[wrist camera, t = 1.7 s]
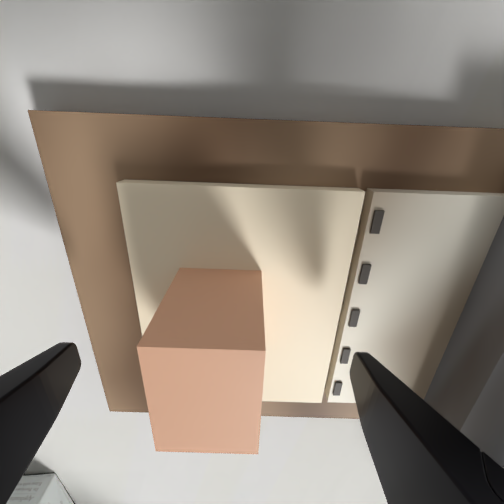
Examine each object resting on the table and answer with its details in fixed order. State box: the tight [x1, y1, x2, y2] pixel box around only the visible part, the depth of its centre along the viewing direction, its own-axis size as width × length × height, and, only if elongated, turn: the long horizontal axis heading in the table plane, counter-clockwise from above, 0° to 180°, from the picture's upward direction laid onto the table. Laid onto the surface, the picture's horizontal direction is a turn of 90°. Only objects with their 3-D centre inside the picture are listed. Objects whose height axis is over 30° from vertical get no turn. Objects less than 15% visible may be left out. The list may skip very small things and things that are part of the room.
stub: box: [116, 179, 365, 454], centre depth 9 cm, size 8×10×5 cm
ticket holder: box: [28, 110, 504, 467], centre depth 11 cm, size 22×14×4 cm, turn 88°
